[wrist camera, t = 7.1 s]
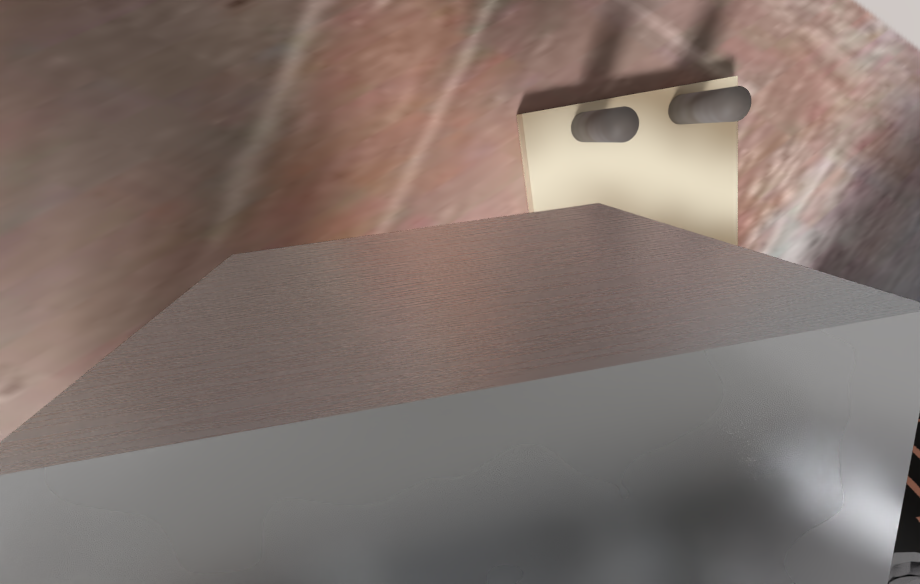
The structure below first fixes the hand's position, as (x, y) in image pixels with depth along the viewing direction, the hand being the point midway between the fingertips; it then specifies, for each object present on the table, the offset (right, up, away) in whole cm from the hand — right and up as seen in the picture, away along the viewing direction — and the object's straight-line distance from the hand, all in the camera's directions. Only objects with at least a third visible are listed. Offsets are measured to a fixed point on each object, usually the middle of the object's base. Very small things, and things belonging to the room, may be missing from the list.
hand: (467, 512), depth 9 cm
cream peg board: (+9, +6, +18) cm, 22 cm away
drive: (0, 0, +1) cm, 1 cm away
